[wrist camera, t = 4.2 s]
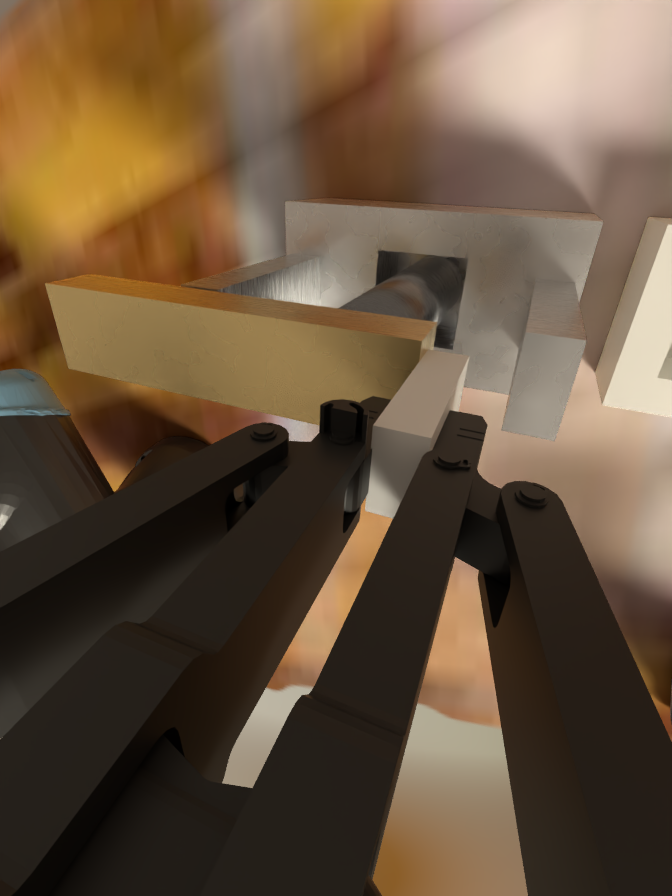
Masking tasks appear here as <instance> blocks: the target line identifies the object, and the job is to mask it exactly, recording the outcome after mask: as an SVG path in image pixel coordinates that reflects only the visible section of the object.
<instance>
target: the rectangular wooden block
mask: <svg viewBox="0 0 672 896" xmlns="http://www.w3.org/2000/svg"><path fill="white" fill-rule="evenodd" d="M45 286H46V289H47V293H48V297H49V300H50V304H51V307H52V311H53V315H54V318H55V322H56V325H57V329H58V333H59V336H60V340H61V343H62V347H63V351H64V354H65V358H66V362H67V365H68V369H72V370H77V371H81V372H86V373H90V374H95V375H99V376H103V377H108V378H112V379H117V380H121V381H126V382H130V383H134V384H139V385H143V386H148V387H152V388H157V389H161V390H165V391H170V392H174V393H179V394H183V395H188V396H192V397H196V398H201V399H205V400H210V401H214V402H219V403H223V404H227V405H232V406H236V407H241V408H245V409H250V410H254V411H258V412H263V413H267V414H272V415H276V416H281V417H285V418H289V419H294V420H298V421H303V422H307V423H312V424H316V425H320V405H321V404H323V403H325V402H327V401H331V400H339V399H345V400H353V401H356V402H359V403H360V402H361V401H362V400H365V399H367V398H369V397H372V396H376V397H381V398H386V399H391V400H392V399H393V397H394V396H395V394H396V393H397V392H398V390H399V389H400V388H401V386H402V385H403V383H404V382H405V381H406V379H407V378H408V377H409V375H410V374H411V372H412V371H413V370H414V368H415V367H416V366H417V364H418V363H419V361H420V360H421V359H422V357H423V356H424V355H425V353H426V352H427V351H428V349H429V350H433V348H434V341H435V334H436V328H437V322H432V321H425V320H418V319H411V318H404V317H396V316H389V315H382V314H375V313H367V312H360V311H353V310H346V309H339V308H331V307H324V306H317V305H310V304H303V303H295V302H288V301H281V300H274V299H267V298H259V297H252V296H245V295H238V294H231V293H223V292H216V291H209V290H202V289H195V288H187V287H180V286H173V285H166V284H159V283H151V282H144V281H137V280H130V279H122V278H115V277H108V276H101V275H94V274H88V275H83V276H78V277H73V278H68V279H63V280H58V281H53V282H48V283H45Z"/></svg>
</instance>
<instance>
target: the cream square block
mask: <svg viewBox="0 0 672 896" xmlns="http://www.w3.org/2000/svg"><path fill="white" fill-rule="evenodd" d="M595 375H596V379H597V384H598V389H599V393H600V398H601V402H602V405H604V406H609V407H615V408H621V409H627V410H632V411H638V412H644V413H649V414H655V415H661V416H667V417H672V218H659V217H648V219H647V222H646V225H645V228H644V231H643V234H642V237H641V240H640V243H639V246H638V249H637V252H636V254H635V257H634V260H633V263H632V266H631V269H630V272H629V275H628V278H627V281H626V284H625V287H624V289H623V292H622V295H621V298H620V301H619V304H618V307H617V310H616V313H615V316H614V319H613V322H612V325H611V327H610V330H609V333H608V336H607V339H606V342H605V345H604V348H603V351H602V354H601V357H600V360H599V363H598V365H597V368H596V371H595Z"/></svg>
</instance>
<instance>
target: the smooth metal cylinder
mask: <svg viewBox="0 0 672 896" xmlns="http://www.w3.org/2000/svg"><path fill="white" fill-rule="evenodd" d="M461 291H462V278H461V274H460V272H459V270H458V268H457V267H456V265H455V264H454V263H453V262H452V261H450V260H449V259H447V258H445V257H441V256H428V257H425V258H423V259H421V260H419V261H417V262H416V263H414V264H412V265H411V266H409V267H407V268H406V269H404V270H402V271H401V272H399V273H397V274H395V275H394V276H392V277H390V278H389V279H387V280H385V281H384V282H382V283H380V284H379V285H377V286H375V287H373V288H372V289H370V290H368V291H367V292H365V293H363V294H362V295H360V296H358V297H357V298H355V299H353V300H351V301H350V302H348V303H346V304H345V305H343V306H341V307H340V308H339V309H346V310H353V311H360V312H367V313H375V314H382V315H389V316H396V317H404V318H411V319H418V320H425V321H432V322H437V326H438V325H439V324H440V322H441V321H442V320H443V319H444V317H445V316H446V315H447V314H448V312H449V311H450V310H451V309H452V307H453V306H454V305H455V304H456V302H457V301H458V299H459V297H460V294H461Z"/></svg>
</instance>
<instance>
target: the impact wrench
mask: <svg viewBox="0 0 672 896" xmlns="http://www.w3.org/2000/svg"><path fill="white" fill-rule="evenodd" d="M670 717H671V723H672V681H671V706H670Z"/></svg>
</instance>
